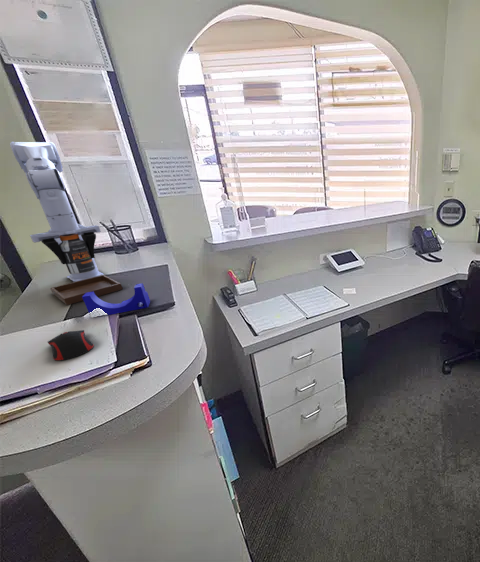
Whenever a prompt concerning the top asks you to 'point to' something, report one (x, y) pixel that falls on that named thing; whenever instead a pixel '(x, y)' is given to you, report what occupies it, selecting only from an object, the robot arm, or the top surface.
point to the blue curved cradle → (133, 303)
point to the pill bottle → (76, 254)
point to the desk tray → (85, 289)
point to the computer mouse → (70, 345)
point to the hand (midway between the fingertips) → (78, 260)
